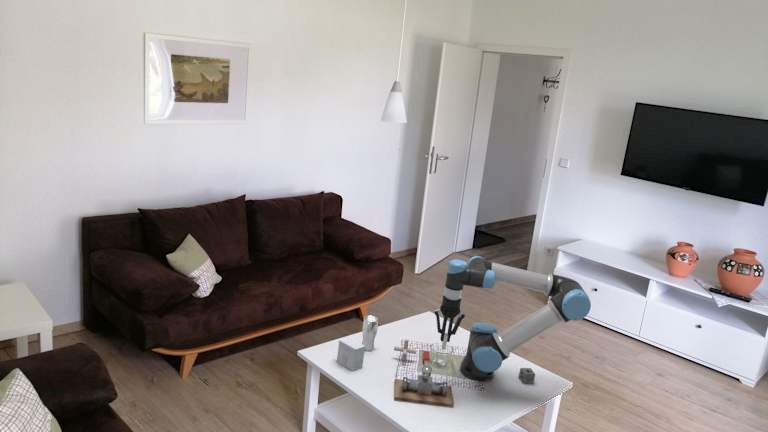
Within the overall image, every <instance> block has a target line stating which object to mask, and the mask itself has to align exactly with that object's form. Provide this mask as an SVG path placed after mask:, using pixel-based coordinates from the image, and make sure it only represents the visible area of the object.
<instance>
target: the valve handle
mask: <svg viewBox="0 0 768 432" xmlns="http://www.w3.org/2000/svg"><path fill="white" fill-rule="evenodd" d="M421 359H422V362H421V363H422V365H423V367H422V372H421V375H423V376H426V377H429V376H431V377H432V370H433V368H432V367H431V366H430V360H431V359H430V351H428V350H427V351H426V350H422V355H421Z"/></svg>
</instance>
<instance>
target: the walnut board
mask: <svg viewBox="0 0 768 432" xmlns="http://www.w3.org/2000/svg"><path fill="white" fill-rule="evenodd" d="M402 382H403V379H400V378H394V382H393V383H394V390H393V394H394V395H393V400H394V401H397V402H407V403H414V404H420V405H421V404H422V405H430V406H437V407H446V408H452V409H453V408H454V406H455V401H454V397H453V394H454V393H453V388H452V385H448V384H447V394H446V396H442V394H436V393H431V396H429V395H421V394H417V391H412V390H406V391H402Z"/></svg>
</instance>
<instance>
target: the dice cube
mask: <svg viewBox="0 0 768 432" xmlns="http://www.w3.org/2000/svg"><path fill="white" fill-rule="evenodd" d="M535 377H536V373H535V372H534V370H533V369H532V368H531V367H520V368H519V373H518V379H519V380H520V382H521V383H522V384H523V385H528V384H529V385H533V384H534V381H535Z"/></svg>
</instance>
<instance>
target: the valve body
mask: <svg viewBox="0 0 768 432" xmlns="http://www.w3.org/2000/svg"><path fill="white" fill-rule="evenodd" d="M402 380H403V382H402V391H406V390H412V391H417V394H421V395H429V396H431V393H436V394H442V396H446V394H447V385H448V381H447V382H446V381H442V382H435V381H433V376H432V375H431V376H429V377H426V376H423V375H422V374H418V376H417V379H413V378H408V376H403V377H402Z"/></svg>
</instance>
